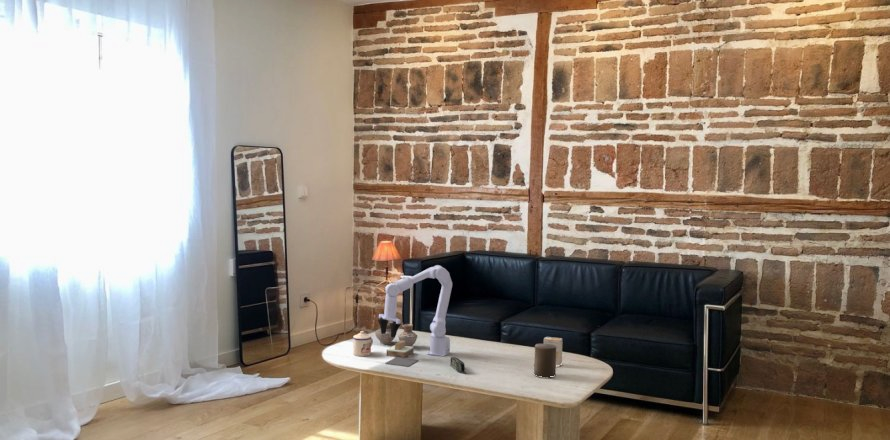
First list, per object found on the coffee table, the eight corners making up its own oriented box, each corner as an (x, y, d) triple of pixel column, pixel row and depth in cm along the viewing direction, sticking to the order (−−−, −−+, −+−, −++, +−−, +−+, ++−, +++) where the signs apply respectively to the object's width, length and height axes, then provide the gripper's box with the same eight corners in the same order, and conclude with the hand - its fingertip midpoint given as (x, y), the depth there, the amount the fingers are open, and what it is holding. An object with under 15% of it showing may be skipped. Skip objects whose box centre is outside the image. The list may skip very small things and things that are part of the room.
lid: (413, 349, 373) (413, 341, 373) (405, 354, 364) (405, 345, 364) (395, 347, 377) (395, 339, 377) (386, 351, 368) (386, 343, 367)
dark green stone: (449, 356, 351) (461, 363, 337) (455, 355, 352) (467, 363, 338) (449, 366, 351) (461, 374, 337) (455, 366, 352) (467, 374, 338)
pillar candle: (550, 379, 332) (551, 346, 331) (530, 375, 337) (531, 343, 336) (558, 374, 340) (560, 342, 339) (539, 371, 345) (540, 339, 344)
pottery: (409, 351, 378) (409, 328, 377) (370, 344, 391) (370, 321, 390) (422, 346, 387) (422, 324, 386) (383, 340, 401) (384, 318, 400)
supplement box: (562, 365, 356) (563, 338, 355) (559, 367, 352) (560, 340, 350) (545, 362, 359) (546, 336, 358) (542, 365, 355) (543, 338, 354)
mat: (418, 360, 360) (418, 359, 360) (408, 366, 349) (408, 365, 349) (396, 357, 365) (396, 356, 365) (385, 363, 354) (385, 362, 354)
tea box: (413, 354, 373) (413, 348, 373) (404, 359, 364) (404, 352, 364) (395, 352, 377) (395, 345, 377) (386, 356, 368) (386, 350, 368)
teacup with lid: (362, 357, 364) (362, 334, 363) (349, 354, 370) (349, 331, 369) (378, 352, 374) (379, 329, 373) (365, 349, 379) (365, 327, 378)
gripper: (374, 305, 369) (372, 332, 370) (393, 311, 358) (391, 339, 359) (385, 304, 374) (383, 331, 374) (404, 310, 363) (402, 337, 364)
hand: (388, 335), depth 367 cm, fingers open, 7 cm apart
